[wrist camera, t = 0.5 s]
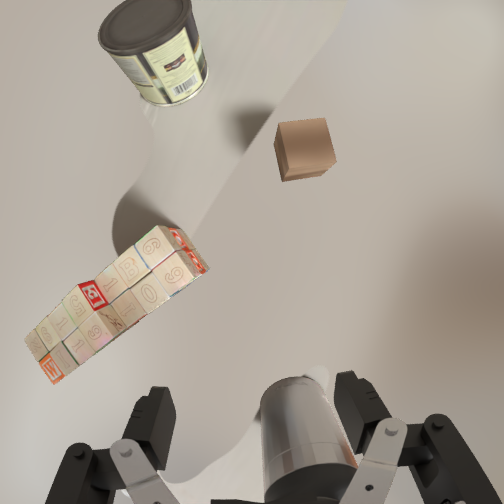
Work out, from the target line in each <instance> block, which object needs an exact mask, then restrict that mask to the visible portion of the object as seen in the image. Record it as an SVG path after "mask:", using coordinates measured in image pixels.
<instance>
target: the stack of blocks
mask: <svg viewBox="0 0 504 504" xmlns="http://www.w3.org/2000/svg"><path fill="white" fill-rule="evenodd" d="M209 269H210V268H209V267H208V265H207V264H206V263H205V261H204V260H203V259H202V257H201V256H200V254H199V253H198V251H196V248H195V247H194V245H193V244H192V242H191V241H190V240H189V238H188V237H187V235H186V234H185V233H184V231H183V230H182V229H175V228H167V227H166V226H160V225H157V226H155V227H154V228H153V229H151V230H150V231H149V232H148V233H147V234H145V235H144V236H143V237H142V238H141V239H139V240H138V241H137V242H136V243H135V244H134V245H132V246H131V247H129V248H128V249H127V250H126V251H125V252H124V253H123V254H121V255H120V256H119V257H118V258H117V259H116V260H115V261H114V262H113V263H111V264H110V265H109V266H108V267H106V269H104V270H103V271H102V272H101V273H100V274H99V275H98V276H97V277H96V278H95V280H91V281H88V282H84V283H81V284H78V285H76V286H75V287H74V289H73V290H72V291H71V292H70V293H69V294H68V295H67V296H66V297H65V298H64V299H63V300H62V302H61V303H60V304H59V305H58V306H57V307H56V308H55V309H54V310H53V311H52V312H51V313H50V314H49V315H48V316H46V317H45V318H44V319H43V320H42V321H41V322H40V324H39V325H38V326H37V327H36V328H35V329H34V330H33V331H32V332H31V333H30V334H29V335H28V336H27V337H26V338H25V342H26V344H27V346H28V347H29V349H30V351H31V352H32V354H33V356H34V357H35V359H36V361H37V362H39V365H40V366H41V368H42V369H43V371H44V372H45V374H46V375H47V376H48V378H49V379H50V380H51V382H52V383H53V384H56V383H57V382H59V381H60V380H61V379H63V378H64V377H65V376H67V375H68V374H69V373H71V372H72V371H73V370H74V369H76V368H77V367H79V366H80V365H82V364H83V363H84V362H85V361H86V360H88V359H89V358H90V357H91V356H93V355H95V354H96V353H98V352H99V351H100V350H102V349H103V348H104V347H105V346H107V345H108V344H109V343H111V342H112V341H113V340H115V339H116V338H117V337H119V336H120V335H121V334H122V333H124V332H125V331H126V330H128V329H129V328H131V327H132V326H133V325H135V324H136V323H138V322H139V320H141V319H142V318H143V317H145V316H146V315H147V314H150V313H151V312H152V311H154V310H155V309H156V308H158V307H159V306H160V305H162V304H163V303H165V302H166V301H167V300H169V299H170V298H172V297H173V296H174V295H176V294H177V293H178V292H180V291H181V290H183V289H184V288H185V287H187V286H188V285H190V284H191V283H192V282H193V281H194V280H196V279H197V278H198V277H200V276H201V275H203V274H204V273H205V272H207V271H208V270H209Z"/></svg>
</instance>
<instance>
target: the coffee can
mask: <svg viewBox="0 0 504 504" xmlns="http://www.w3.org/2000/svg"><path fill="white" fill-rule="evenodd" d="M98 41H99V43H100V45H101V47H102V48H103V49H104V50H106V51H107V52H108V53H109V54H110V55H111V57H112V58H113V59H114V60H115V61H116V63H117V64H118V65H119V67H120V68H121V69H122V70H123V72H124V73H125V74H126V75H127V77H129V79H130V80H131V81H132V83H133V84H134V85H135V86H136V88H137V89H138V90H139V91H140V93H141V94H142V96H143V97H144V99H145V100H146V101H148V102H149V103H151V104H153V105H156V106H162V107H169V106H175V105H178V104H182V103H184V102H186V101H188V100H189V99H191V98H192V97H194V96H195V95H196V94H197V93H198V92H199V91H200V90H201V89H202V88H203V87H204V85H205V83H206V81H207V78H208V73H209V69H208V64H207V62H206V60H205V56H204V53H203V49H202V45H201V42H200V38H199V35H198V31H197V27H196V24H195V20H194V17H193V13H192V4H191V0H126V1H124V2H123V3H121V4H120V5H118V6H117V7H116V8H115V9H114V10H112V12H111V13H110V14H109V15H108V16H107V17H106V18H105V20H104V21H103V23H102V24H101V26H100V29H99V32H98Z"/></svg>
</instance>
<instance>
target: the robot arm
mask: <svg viewBox="0 0 504 504" xmlns="http://www.w3.org/2000/svg"><path fill="white" fill-rule="evenodd" d="M334 404H335V408H336V410H337V412H338V415H339V417H340V420H341V422H342V425H343V427H344V429H345V432H346V434H347V437H348V439H349V442H350V444H351V447H352V449H353V452H354V454H355V455H356V454H360V453H363V456H364V458H363V459H362V461H361V463H360V465H359V467H358V465H357V463H356V460H355V458H354V456H353V454H352V452H351V450H350V448H349V445H348V443H347V441H346V439H345V437H344V434H343V432H342V430H341V428H340V426H339V424H338V421H337V419H336V417H335V415H334V413H333V411H332V408H331V406H330V404H329V402H328V400H327V397H326V395H325V393H324V391H323V389H322V388H321V386H320V385H319V384H318V383H317V382H315V381H313V380H311V379H309V378H305V377H289V378H285V379H281V380H280V381H277V382H275V383H274V384H273V385H271V386H270V387H269V388H268V389H267V390H266V391H265V393H264V394H263V396H262V398H261V402H260V415H261V439H262V460H263V478H264V500H265V503H257V502H250V501H243V500H237V499H231V500H214V499H211V504H384V501H385V498H386V497H387V494H388V492H389V489H390V487H391V484H392V482H393V478H394V476H395V473H396V470H397V467H400V466H409V469H410V471H411V473H412V475H413V478H414V480H415V482H416V484H417V487H418V489H419V491H420V494H421V496H422V498H423V501H424V504H502V502H501V500H500V498H499V497H498V495H497V493H496V491H495V489H494V488H493V486H492V484H491V483H490V481H489V479H488V477H487V476H486V474H485V473H484V471H483V469H482V467H481V466H480V464H479V463H478V461H477V459H476V458H475V456H474V455H473V453H472V452H471V450H470V448H469V447H468V446H467V444H466V442H465V441H464V439H463V438H462V436H461V435H460V433H459V432H458V430H457V429H456V427H455V426H454V424H453V423H452V422H451V420H450V419H449V418H448V417H447V416H445V415H443V414H433V415H430V416H429V417H428V418H426V420H425V422H424V423H422V424H410V425H409V424H405V423H404V422H403V421H402V420H400V419H397V418H392V416H391V415H390V413H389V411H388V410H387V408H386V407H385V405H384V403H383V402H382V400H381V398H380V397H379V395H378V393H377V392H376V390H375V389H374V387H373V385H372V384H371V383H370V382H368V381H367V380H366V379H364V378H362V379H358V378H357V376H356V375H355V373H354V371H352V370H351V371H346V372H341V373H338V374H337V376H336V383H335V391H334ZM175 421H176V410H175V407H174V404H173V400H172V398H171V394H170V391H169V388H168V387H156V386H153V387H152V388H151V390H150V393H149V395H148V396H142V397H141V398H140V399H139V400H138V401H137V402H136V404H135V406H134V409H133V412H132V414H131V418H130V419H129V421H128V424H127V426H126V429H125V431H124V434H123V437H122V439H121V440H118V441H116V442H115V443H113V444H112V446H111V448H109V449H102V450H101V449H100V450H92V449H91V447H90V446H89V445H87V444H85V443H75V444H73V445H71V446H70V447H69V448H68V449H67V451H66V453H65V455H64V457H63V460H62V462H61V465H60V467H59V469H58V472H57V474H56V477H55V479H54V482H53V484H52V487H51V489H50V492H49V494H48V497H47V500H46V502H45V504H113V501H114V497H115V492H116V490H118V489H126V490H127V492H128V494H129V495H130V497H131V499H132V500H133V502H134V504H180V503H179V502H178V501H177V499H176V498H175V497H174V495H173V494H172V493H171V491H170V490H169V489H168V487H167V486H166V485H165V483H164V482H163V480H162V479H161V478H160V476H159V475H158V474H157V470H165V467H166V463H167V458H168V453H169V448H170V444H171V439H172V435H173V430H174V426H175Z"/></svg>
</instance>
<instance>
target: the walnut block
mask: <svg viewBox="0 0 504 504" xmlns="http://www.w3.org/2000/svg"><path fill="white" fill-rule="evenodd" d="M274 147H275V152H276V157H277V161H278V165H279V170H280V175H281V180H282V182H285V181H291V180H297V179H303V178H310V177H317V176H321V175H322V174H324V173H325V172H326V171H327V170H328V169H329V168H330V167H331V166H332V165H334V164H335V163H336V162H337V161H336V157H335V154H334V149H333V145H332V142H331V138H330V134H329V131H328V127H327V124H326V120H325V118H317V119H307V120H298V121H290V122H282V123H279V124H278V128H277V132H276V137H275V141H274Z"/></svg>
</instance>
